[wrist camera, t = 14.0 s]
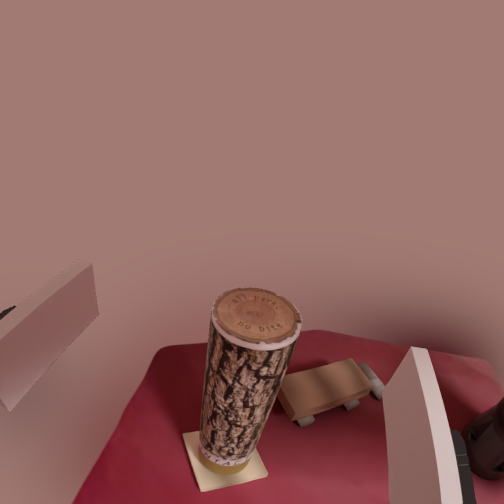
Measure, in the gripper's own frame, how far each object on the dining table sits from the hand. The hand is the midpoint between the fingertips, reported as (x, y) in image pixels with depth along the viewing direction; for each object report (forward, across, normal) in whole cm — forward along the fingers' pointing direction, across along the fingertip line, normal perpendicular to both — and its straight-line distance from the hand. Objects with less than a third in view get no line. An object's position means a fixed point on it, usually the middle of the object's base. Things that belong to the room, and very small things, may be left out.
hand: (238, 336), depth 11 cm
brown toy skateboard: (+25, +14, -32) cm, 43 cm away
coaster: (+10, 0, -32) cm, 33 cm away
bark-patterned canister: (+10, 0, -31) cm, 33 cm away
